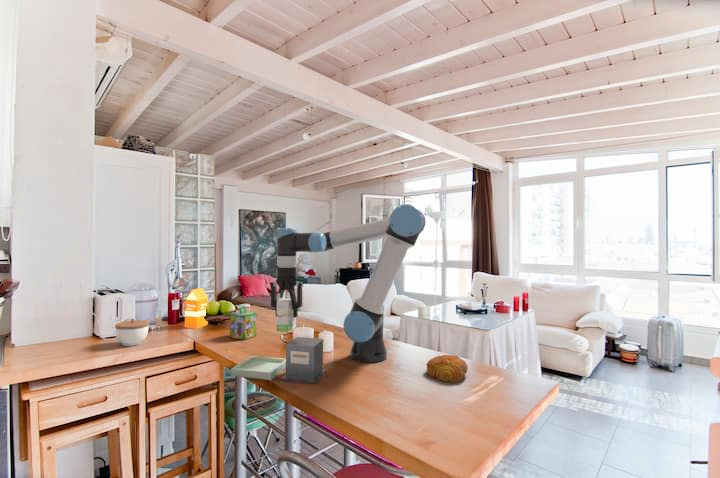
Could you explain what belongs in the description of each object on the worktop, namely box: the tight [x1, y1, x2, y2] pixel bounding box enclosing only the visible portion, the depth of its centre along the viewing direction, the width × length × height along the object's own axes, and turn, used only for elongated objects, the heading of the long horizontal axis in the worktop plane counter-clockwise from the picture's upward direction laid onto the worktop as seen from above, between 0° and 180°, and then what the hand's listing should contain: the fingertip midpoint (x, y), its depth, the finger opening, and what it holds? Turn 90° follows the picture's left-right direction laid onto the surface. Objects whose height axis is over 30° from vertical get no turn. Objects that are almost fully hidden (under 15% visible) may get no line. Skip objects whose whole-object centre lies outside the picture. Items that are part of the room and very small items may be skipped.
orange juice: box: [184, 287, 209, 329], centre depth 193 cm, size 8×9×20 cm
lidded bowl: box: [114, 318, 150, 347], centre depth 158 cm, size 13×13×11 cm
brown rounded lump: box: [426, 354, 469, 383], centre depth 130 cm, size 14×16×8 cm
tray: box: [230, 355, 286, 381], centre depth 130 cm, size 15×15×2 cm
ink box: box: [276, 291, 297, 333], centre depth 143 cm, size 9×5×15 cm, turn 168°
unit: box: [281, 336, 327, 385], centre depth 125 cm, size 12×12×12 cm
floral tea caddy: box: [229, 305, 258, 341], centre depth 174 cm, size 9×9×15 cm
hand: (286, 324), depth 143 cm, fingers closed on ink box, 5 cm apart
